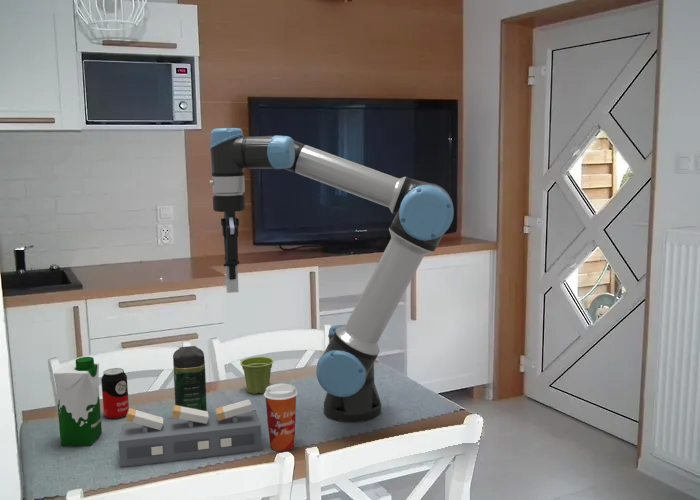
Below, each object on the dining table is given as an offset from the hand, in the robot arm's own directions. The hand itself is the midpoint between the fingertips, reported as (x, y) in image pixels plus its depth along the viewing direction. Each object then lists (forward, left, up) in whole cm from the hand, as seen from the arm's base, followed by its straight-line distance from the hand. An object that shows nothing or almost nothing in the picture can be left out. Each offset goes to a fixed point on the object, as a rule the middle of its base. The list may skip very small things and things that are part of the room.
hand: (232, 291), depth 167 cm
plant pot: (-8, -25, -35) cm, 43 cm away
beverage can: (+30, -17, -35) cm, 49 cm away
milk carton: (+37, -3, -35) cm, 51 cm away
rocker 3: (+2, +10, -26) cm, 28 cm away
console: (+12, +10, -34) cm, 38 cm away
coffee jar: (+11, -9, -35) cm, 37 cm away
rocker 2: (+12, +10, -26) cm, 30 cm away
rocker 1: (+22, +10, -26) cm, 35 cm away
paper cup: (-9, +14, -35) cm, 38 cm away
